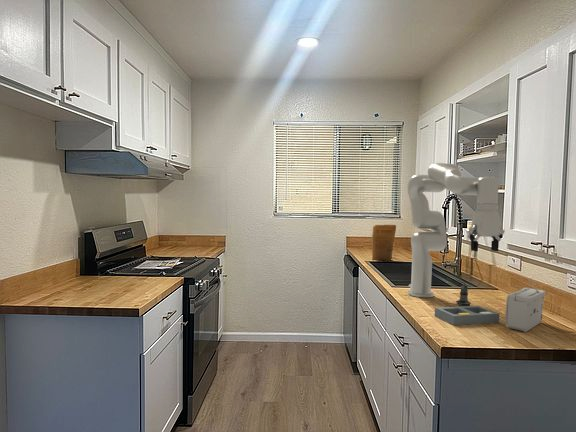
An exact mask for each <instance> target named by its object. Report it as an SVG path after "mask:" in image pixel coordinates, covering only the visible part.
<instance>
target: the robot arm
mask: <svg viewBox="0 0 576 432" xmlns="http://www.w3.org/2000/svg"><path fill="white" fill-rule="evenodd" d="M499 183H500V181H499V178H497V177H495V176H483V177H474V176H462V172H461V171H460V169H459V167H458V166H457V165H456V164H453V163H445V162H444V163H443V162H435V163H433V164H431V165H430V166H429V167H428V168H427V174H415V175H412V176H411V177H410V178H409V180H408V184H407V193H408V198H409V201H410V210H411V219H412V226H413V227H414V229H417V230H430V231H419V232H414V233H413V234H412V235H411V238H410V245H411V246H410V247H411V255H412V256H411V258H412V259H411V279H410V280H411V281H410V284H408V287H409V288H410V289H408V290H407V295H409V296H412V297H416V298H433V297H434V296H435V293H434V292H432V291H431V290H432V289H431V288H432V275H433V274H432V273H433V271H432V269H433V260H432V256H431V255H430V253H429V252H438V251H439V252H441V251H443V250H445V248H446V247H447V242H448V241H447V229H446V221H445V217H444V215H443V214H442V212H441V211H438V210H430V206H429V200H428V197H426V195H425V194H424V192H425V193H441V192H443V191H445V190H447V191H448V192H451V193H454V194H456V195H458V196H459V195H461V196H476V209H475V210H474V211H473V216H472V220H471V225H470V227H469V228H467V229H466V230H465V232H466V234H467V237H468V239H469V241H470V251H472V252H478V251H479V249H478V248H479V241H478V240H479V239H480V237H489V238H491V239H492V240H491V247H490V250H491V251H494V252H499V244H500V243H499V242H500V241H501V239H502V238H503V236H504V234H505V232H506V230H505V229H503V228H502V227H500V215H499V212H498V209H499V208H500V206H499V205H498V202H499Z"/></svg>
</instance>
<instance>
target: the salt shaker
mask: <svg viewBox="0 0 576 432" xmlns="http://www.w3.org/2000/svg"><path fill="white" fill-rule="evenodd" d="M468 289H469V287H468V285H466V283H465V282H464V283H463V284H462V285H461V286H460V292H459V299H458V300H456V305H457V307H459V306H471V303H472V302H471V301H469V300H468V299H469V298H468V297H469V296H468V295H469V293H468Z"/></svg>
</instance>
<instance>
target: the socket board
mask: <svg viewBox="0 0 576 432" xmlns="http://www.w3.org/2000/svg"><path fill="white" fill-rule="evenodd" d="M500 316H501V315H500V313H499V312H496V311H493V310H491V309H488V308H486V307H483V306H481V305H470V306H441V307H440V306H439V307H434V318H435V317H436V318H438V319H440V320H442V321H444V322H446V323H448V324H451V325H452V326H460V325H462V326H463V325H478V324H479V325H481V324H494V323H497V324H498V323H500Z"/></svg>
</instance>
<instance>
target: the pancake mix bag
mask: <svg viewBox="0 0 576 432" xmlns="http://www.w3.org/2000/svg"><path fill="white" fill-rule="evenodd" d="M396 229H397V225H395V224H374V225H373V227H372V234H371V236H372V237H371V247H372V249H371V250H372V252H371V253H372V257H371V260H372V261H374V260H391V259H392V260H393V251H394V242H395V238H396V237H395V236H396V231H397V230H396Z"/></svg>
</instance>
